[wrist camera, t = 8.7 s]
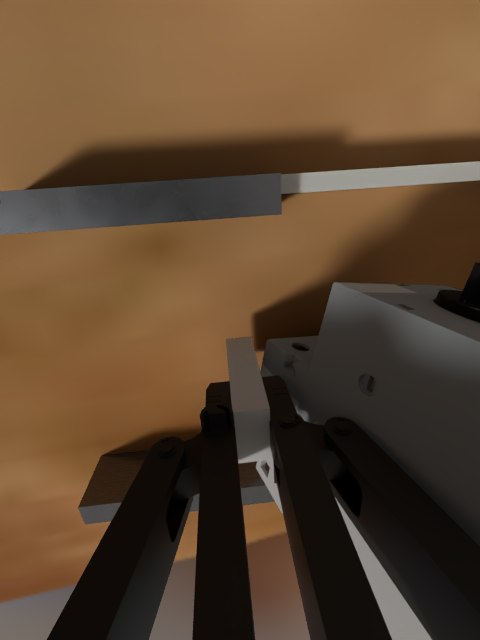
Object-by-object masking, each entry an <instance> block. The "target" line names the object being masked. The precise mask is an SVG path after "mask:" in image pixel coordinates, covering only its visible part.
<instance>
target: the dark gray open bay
mask: <svg viewBox="0 0 480 640" xmlns="http://www.w3.org/2000/svg"><path fill="white" fill-rule="evenodd" d="M277 214H281V173H272V174H257V175H242V176H227V177H212V178H197V179H181V180H166V181H151V182H136V183H121V184H106V185H91V186H75V187H60V188H45V189H30V190H15V191H0V235H3V234H17V233H30V232H44V231H58V230H72V229H85V228H99V227H113V226H126V225H140V224H154V223H168V222H181V221H195V220H209V219H222V218H236V217H250V216H264V215H277ZM148 453H149V451H142V452H132V453H123V454H114V455H105V456H101V457H100V459H99V462H98V464H97V466H96V468H95V471H94V473H93V475H92V477H91V480H90V482H89V484H88V487H87V489H86V491H85V493H84V496H83V498H82V500H81V502H80V505H79V507H78V508H79V511H80V513H81V516H82V518H83V521H84V523H85V524H92V523H100V522H108V521H112V519H113V517H114V516H115V514H116V512H117V510H118V508H119V506H120V505H121V503H122V501H123V499H124V497H125V495H126V494H127V492H128V490H129V488H130V486H131V484H132V483H133V481H134V479H135V477H136V475H137V473H138V472H139V470H140V468H141V466H142V464H143V462H144V461H145V459H146V457H147V455H148ZM256 464H257V461H255V462H247V463H239V474H240V484H241V495H242V505H249V504H258V503H266V502H274V501H275V500H274V499H273V497H272V495H271V493H270V492H269V490H268V488H267V486H266V485H265V483H264V481H263V480H262V478H261V476H260V474H259V473H258V471H257V469H256ZM265 470H266V471H267V473H268V474H269V470H270V467H269V465H268V464H267V462H266V464H265ZM191 511H199V494H197V495H195V496H193V501H192V505H191V508H190V511H189V512H191Z"/></svg>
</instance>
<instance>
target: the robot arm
mask: <svg viewBox="0 0 480 640" xmlns="http://www.w3.org/2000/svg"><path fill="white" fill-rule="evenodd" d="M226 344H227V356H228V367H229V379H230V381H227V382H218V383H210V385H209V386H208V388H207V389H206V407H205V408H204V409H203V410H202V411H201V414H200V420H201V426H202V432H201V433H200V434H199V435H198V436H196V437H195V438H193V439H190V440H188V441H185V442H183V441H182V440H181V439H179V438H176V437H167V438H164V439H161V440H160V441H158V442H157V443H155V444H154V446H153V447H152V448H151V450H150V451H149V453H148V455H147V457H146V459H145V461H144V462H143V464H142V466H141V468H140V470H139V472H138V473H137V475H136V477H135V479H134V481H133V483H132V484H131V486H130V488H129V490H128V492H127V494H126V495H125V497H124V499H123V501H122V503H121V505H120V506H119V508H118V510H117V512H116V514H115V516H114V517H113V519H112V521H111V523H110V525H109V527H108V528H107V530H106V532H105V534H104V536H103V538H102V539H101V541H100V543H99V545H98V547H97V549H96V550H95V552H94V554H93V556H92V558H91V560H90V561H89V563H88V565H87V567H86V569H85V570H84V572H83V574H82V576H81V578H80V580H79V581H78V583H77V585H76V587H75V589H74V591H73V593H72V594H71V596H70V598H69V600H68V602H67V604H66V605H65V607H64V609H63V611H62V613H61V614H60V617H59V618H58V620H57V622H56V624H55V626H54V627H53V629H52V631H51V633H50V635H49V637H48V638H47V640H149V637H150V633H151V630H152V627H153V624H154V621H155V618H156V614H157V611H158V608H159V605H160V602H161V599H162V596H163V593H164V589H165V586H166V583H167V580H168V577H169V574H170V571H171V567H172V564H173V561H174V558H175V555H176V552H177V549H178V545H179V542H180V539H181V536H182V533H183V530H184V527H185V523H186V520H187V517H188V514H189V511H190V508H191V505H192V501H193V496H195V495H197V494H199V513H198V534H197V555H196V576H195V599H194V619H193V620H194V621H193V640H255V632H254V621H253V610H252V600H251V590H250V580H249V568H248V558H247V547H246V537H245V526H244V516H243V505H242V495H241V484H240V474H239V463H247V462H255V461H264V460H272V457H273V463H274V484H275V483H277V488H278V492H279V497H280V501H281V506H282V511H283V515H284V520H285V524H286V529H287V534H288V538H289V543H290V547H291V552H292V556H293V561H294V566H295V570H296V575H297V580H298V584H299V589H300V593H301V598H302V602H303V607H304V612H305V616H306V621H307V626H308V630H309V635H310V639H311V640H392V638H391V635H390V633H389V630H388V628H387V625H386V623H385V620H384V618H383V615H382V613H381V610H380V608H379V605H378V603H377V600H376V598H375V596H374V593H373V591H372V588H371V586H370V583H369V581H368V578H367V576H366V573H365V571H364V568H363V566H362V563H361V561H360V558H359V556H358V553H357V551H356V548H355V546H354V543H353V541H352V538H351V536H350V533H349V531H348V528H347V526H346V523H345V521H344V519H343V516H342V514H341V511H340V509H339V506H338V504H337V501H338V502H339V504H340V505H341V507H342V508H343V510H344V511H345V513H346V514H347V516H348V517H349V519H350V520H351V521H352V523H353V524H354V526H355V527H356V529H357V530H358V532H359V533H360V535H361V536H362V538H363V539H364V541H365V542H366V543H367V545H368V546H369V548H370V549H371V551H372V552H373V554H374V555H375V557H376V558H377V560H378V561H379V563H380V564H381V565H382V567H383V568H384V570H385V571H386V573H387V574H388V576H389V577H390V579H391V580H392V582H393V583H394V585H395V586H396V587H397V589H398V590H399V592H400V593H401V595H402V596H403V598H404V599H405V601H406V602H407V604H408V605H409V607H410V608H411V609H412V611H413V612H414V614H415V615H416V617H417V618H418V620H419V621H420V623H421V624H422V626H423V627H424V629H425V630H426V631H427V633H428V634H429V636H430V637H431V639H432V640H480V546H479V545H478V544H477V543H476V542H475V541H474V540H473V539H472V538H471V537H470V536H469V535H468V534H467V533H466V532H465V531H464V530H463V529H462V528H461V527H460V526H459V525H458V524H457V523H456V522H455V521H454V520H453V519H452V518H451V517H450V516H449V515H448V514H447V513H446V512H445V511H444V510H443V509H442V508H441V507H440V506H439V505H438V504H437V503H436V502H435V501H434V500H433V499H432V498H431V497H430V496H429V495H428V494H427V493H426V492H425V491H424V490H423V489H422V488H421V487H420V486H419V485H418V484H417V483H415V482H414V481H413V480H412V479H411V478H410V477H409V476H408V475H407V474H406V473H405V472H404V471H403V470H402V469H401V468H400V467H399V466H398V465H397V464H396V463H395V462H394V461H393V460H392V459H391V458H390V457H389V456H388V455H387V454H386V453H385V452H384V451H383V450H382V449H381V448H380V447H379V446H378V445H377V444H376V443H375V442H374V441H373V440H372V439H371V438H370V437H369V436H368V435H367V434H366V433H365V432H364V431H363V430H362V429H361V428H360V427H359V426H358V425H357V424H356V423H355V422H353V421H352V420H350V419H347V418H344V417H333V418H330V419H329V420H327V421H326V423H325V425H318V424H312V423H309V422H306V421H304V419H303V418H302V417H301V416H300V415H299V414H297V412H296V409H295V406H294V404H293V401H292V399H291V396H290V394H289V391H288V388H287V386H286V383H285V381H284V380H283V379H282V378H281V377H280V376H279V375H276V376H267V377H261V373H260V370H259V366H258V362H257V358H256V355H255V351H254V347H253V343H252V339H251V337H242V338H232V339H226ZM335 498H336V499H337V501H336V499H335Z"/></svg>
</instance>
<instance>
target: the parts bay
mask: <svg viewBox="0 0 480 640" xmlns="http://www.w3.org/2000/svg"><path fill="white" fill-rule="evenodd" d="M476 180H480V161H476V162H461V163H446V164H431V165H416V166H401V167H386V168H371V169H355V170H340V171H325V172H310V173H295V174H281V194H289V193H304V192H318V191H333V190H347V189H361V188H376V187H390V186H404V185H419V184H433V183H448V182H462V181H476Z"/></svg>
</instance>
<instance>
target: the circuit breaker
mask: <svg viewBox="0 0 480 640" xmlns="http://www.w3.org/2000/svg"><path fill="white" fill-rule="evenodd" d="M260 373H261V377H267V376H276V375H279V376H280V377H281V378H282V379H283V380H284V381H285V383H286V386H287V388H288V391H289V394H290V396H291V399H292V401H293V404H294V406H295V409H296V412H297V414H299V415H300V416H301V417H302V418H303V419H304V421H306V422H309V423H312V424H318V425H325V423H326V421H327V420H329V419H330V418H333V417H344V418H347V419H350V420H352V421H353V422H355V423H356V424H357V425H358V426H359V427H360V428H361V429H362V430H363V431H364V432H365V433H366V434H367V435H368V436H369V437H370V438H371V439H372V440H373V441H374V442H375V443H376V444H377V445H378V446H379V447H380V448H381V449H382V450H383V451H384V452H385V453H386V454H387V455H388V456H389V457H390V458H391V459H392V460H393V461H394V462H395V463H396V464H397V465H398V466H399V467H400V468H401V469H402V470H403V471H404V472H405V473H406V474H407V475H408V476H409V477H410V478H411V479H412V480H413V481H414V482H415V483H417V484H418V485H419V486H420V487H421V488H422V489H423V490H424V491H425V492H426V493H427V494H428V495H429V496H430V497H431V498H432V499H433V500H434V501H435V502H436V503H437V504H438V505H439V506H440V507H441V508H442V509H443V510H444V511H445V512H446V513H447V514H448V515H449V516H450V517H451V518H452V519H453V520H454V521H455V522H456V523H457V524H458V525H459V526H460V527H461V528H462V529H463V530H464V531H465V532H466V533H467V534H468V535H469V536H470V537H471V538H472V539H473V540H474V541H475V542H476V543H477V544H478V545H479V546H480V263H475V265H474V267H473V269H472V272H471V274H470V276H469V278H468V280H467V283H466V285H465V287H464V289H463V290H460V289H456V288H453V287H450V286H446V285H415V284H402V285H400V286H399V285H396V284H385V283H354V282H335V283H333V285H332V289H331V292H330V296H329V300H328V303H327V307H326V310H325V314H324V317H323V321H322V325H321V328H320V332H319V335H318V336H305V337H291V338H277V339H268V340H267V342H266V347H265V352H264V357H263V362H262V367H261V372H260ZM266 462H267V464H268V465H269V467H270V470H269V474H268V473H267V471H266V470H265V464H266ZM256 469H257V471H258V473H259V474H260V476H261V478H262V480H263V481H264V483H265V485H266V486H267V488H268V490H269V492H270V493H271V495H272V497H273V499H274V500H275V502H276V504H277V506H278V507H279V509H280V511H281V512H282V513H283V511H282V506H281V501H280V497H279V492H278V488H277V483H275V484H274V463H273V457H272V460H264V461H257V464H256ZM335 499H336V498H335ZM336 501H337V499H336ZM337 504H338V506H339V509H340V511H341V514H342V516H343V519H344V521H345V523H346V526H347V528H348V531H349V533H350V536H351V538H352V541H353V543H354V546H355V548H356V551H357V553H358V556H359V558H360V561H361V563H362V566H363V568H364V571H365V573H366V576H367V578H368V581H369V583H370V586H371V588H372V591H373V593H374V596H375V598H376V600H377V603H378V605H379V608H380V610H381V613H382V615H383V618H384V620H385V623H386V625H387V628H388V630H389V633H390V635H391V638H392V640H432V639H431V637H430V636H429V634H428V633H427V631H426V630H425V629H424V627H423V626H422V624H421V623H420V621H419V620H418V618H417V617H416V615H415V614H414V612H413V611H412V609H411V608H410V607H409V605H408V604H407V602H406V601H405V599H404V598H403V596H402V595H401V593H400V592H399V590H398V589H397V587H396V586H395V585H394V583H393V582H392V580H391V579H390V577H389V576H388V574H387V573H386V571H385V570H384V568H383V567H382V565H381V564H380V563H379V561H378V560H377V558H376V557H375V555H374V554H373V552H372V551H371V549H370V548H369V546H368V545H367V543H366V542H365V541H364V539H363V538H362V536H361V535H360V533H359V532H358V530H357V529H356V527H355V526H354V524H353V523H352V521H351V520H350V519H349V517H348V516H347V514H346V513H345V511H344V510H343V508H342V507H341V505H340V504H339V502H338V501H337Z"/></svg>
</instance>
